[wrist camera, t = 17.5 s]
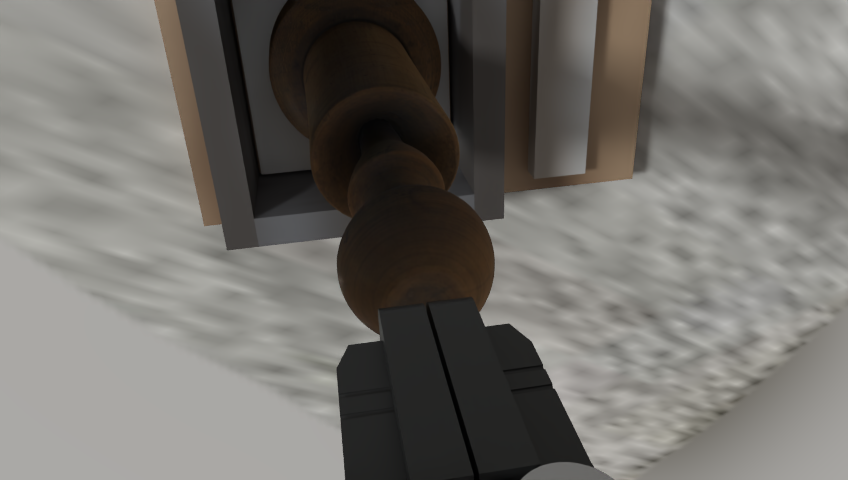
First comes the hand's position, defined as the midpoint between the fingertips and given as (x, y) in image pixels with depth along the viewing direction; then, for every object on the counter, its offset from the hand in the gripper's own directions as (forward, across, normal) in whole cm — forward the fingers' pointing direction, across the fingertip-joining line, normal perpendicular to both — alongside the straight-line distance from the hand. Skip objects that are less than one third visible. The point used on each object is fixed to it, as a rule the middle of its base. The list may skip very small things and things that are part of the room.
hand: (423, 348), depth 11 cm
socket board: (+21, -3, 0) cm, 22 cm away
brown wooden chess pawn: (+19, 0, 0) cm, 19 cm away
